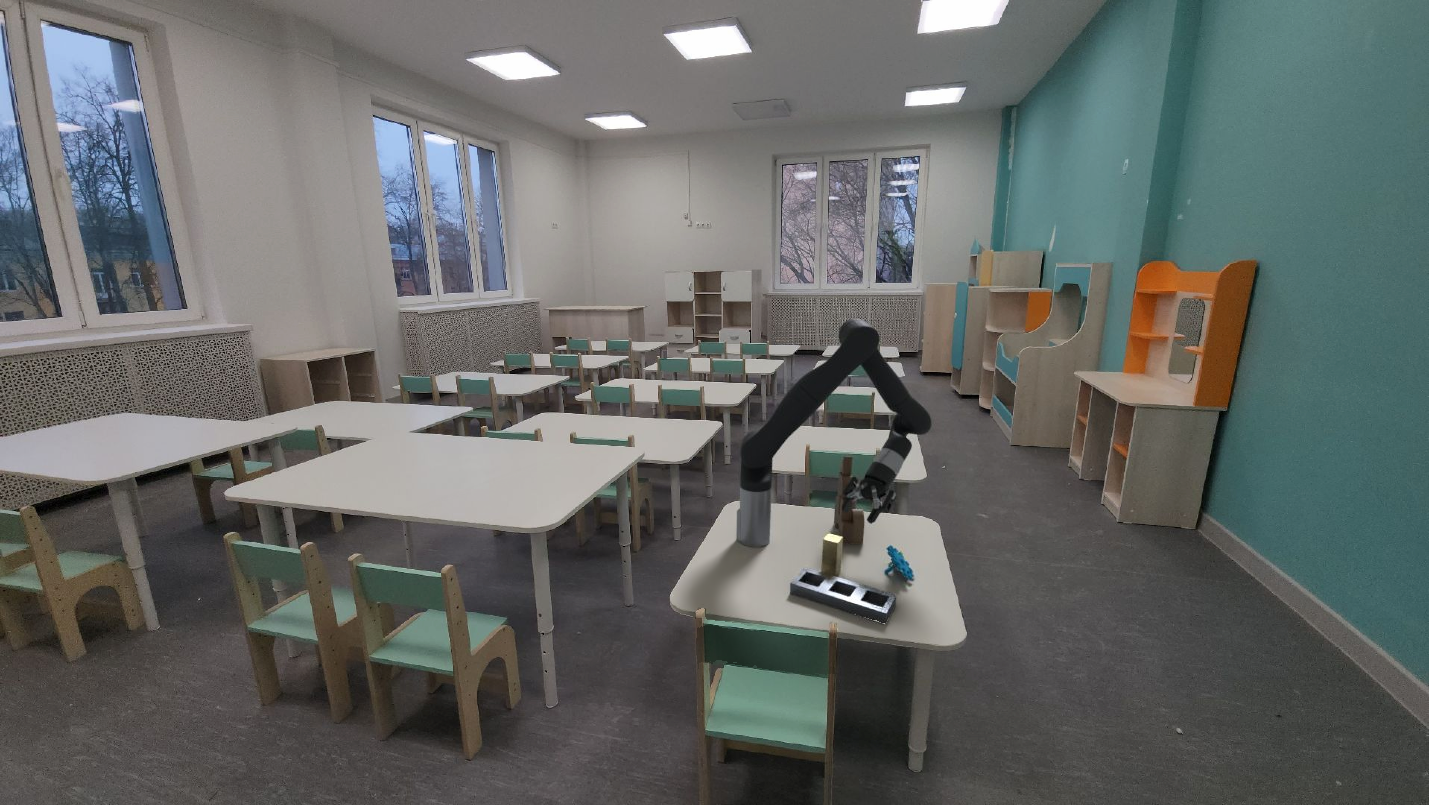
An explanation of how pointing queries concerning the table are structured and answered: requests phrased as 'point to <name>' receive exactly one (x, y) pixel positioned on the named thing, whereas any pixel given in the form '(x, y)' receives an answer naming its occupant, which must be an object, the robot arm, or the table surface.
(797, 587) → the grey flat frame block
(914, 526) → the table surface
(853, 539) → the wooden toy
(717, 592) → the table surface
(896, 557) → the gear
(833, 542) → the brass post
